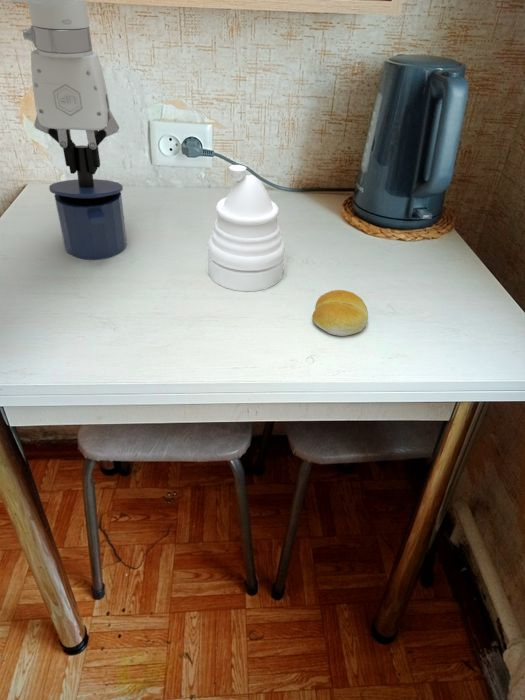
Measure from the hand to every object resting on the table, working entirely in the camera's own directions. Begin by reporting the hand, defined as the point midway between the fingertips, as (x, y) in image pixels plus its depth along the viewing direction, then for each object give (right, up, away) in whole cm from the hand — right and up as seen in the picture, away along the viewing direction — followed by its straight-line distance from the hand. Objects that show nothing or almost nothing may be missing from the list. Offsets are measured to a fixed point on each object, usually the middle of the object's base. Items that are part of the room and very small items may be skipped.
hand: (84, 170), depth 83 cm
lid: (0, -3, +2) cm, 3 cm away
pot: (-1, -11, +9) cm, 14 cm away
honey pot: (+26, -16, +5) cm, 31 cm away
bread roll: (+41, -25, -5) cm, 48 cm away
